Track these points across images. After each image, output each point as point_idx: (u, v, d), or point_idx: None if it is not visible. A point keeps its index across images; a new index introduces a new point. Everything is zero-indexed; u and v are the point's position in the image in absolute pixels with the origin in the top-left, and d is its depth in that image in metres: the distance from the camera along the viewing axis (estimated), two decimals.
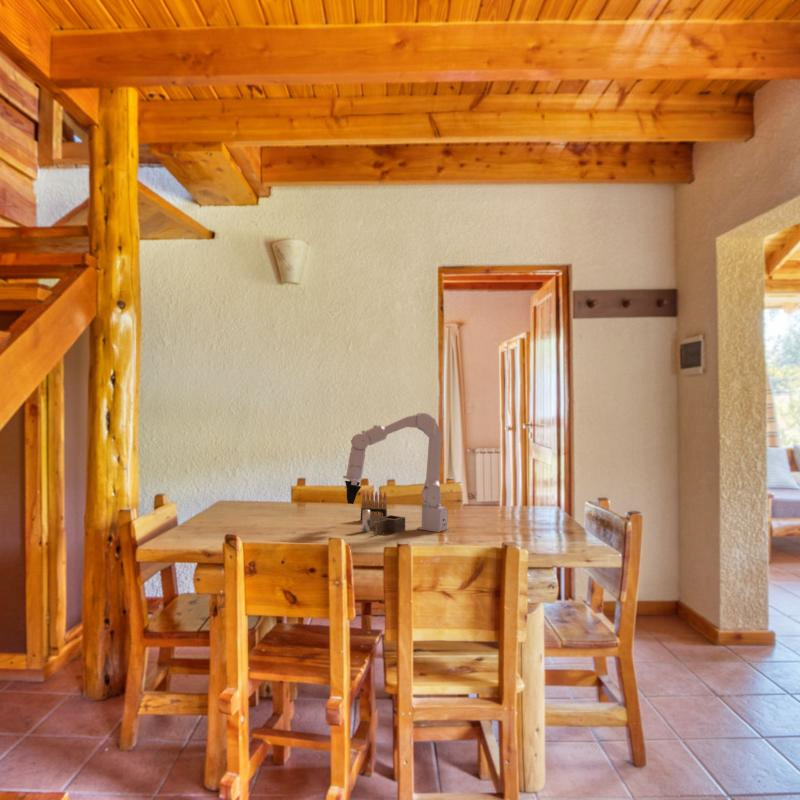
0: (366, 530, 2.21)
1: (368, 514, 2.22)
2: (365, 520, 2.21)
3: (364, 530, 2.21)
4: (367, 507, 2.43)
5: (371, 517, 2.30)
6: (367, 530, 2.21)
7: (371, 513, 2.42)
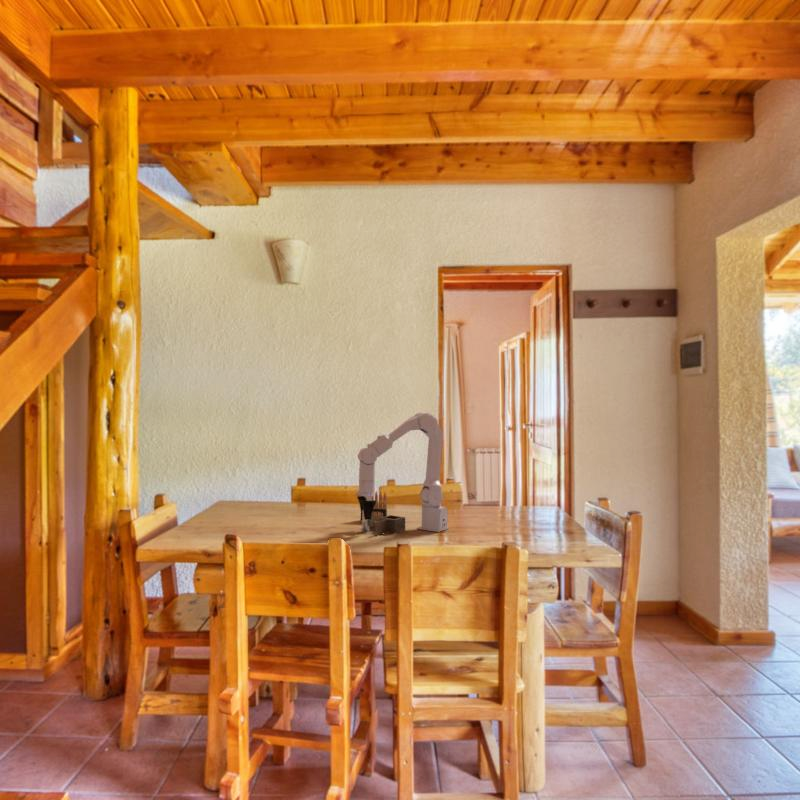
0: (366, 530, 2.21)
1: None
2: (365, 520, 2.21)
3: (364, 530, 2.21)
4: None
5: (371, 517, 2.30)
6: (367, 530, 2.21)
7: None
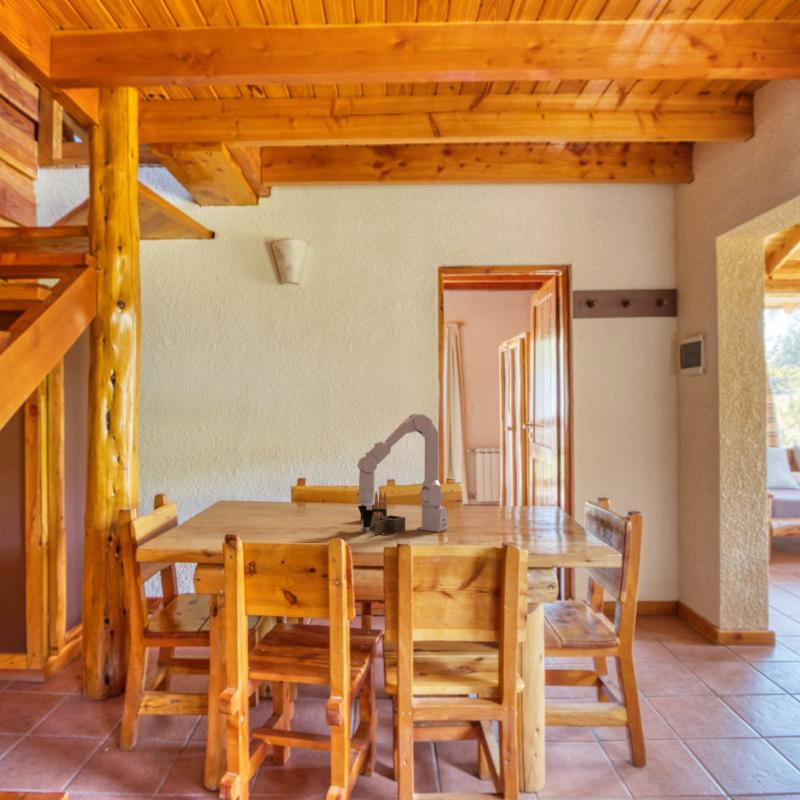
0: (366, 530, 2.21)
1: None
2: None
3: (364, 530, 2.21)
4: None
5: None
6: (367, 530, 2.21)
7: None
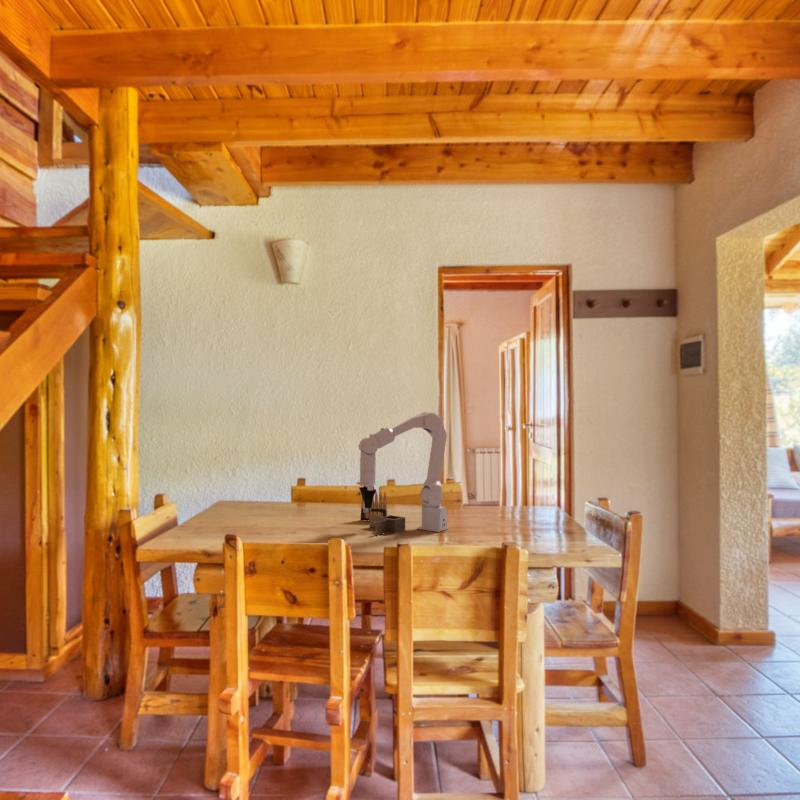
0: (367, 511, 2.21)
1: None
2: None
3: (365, 511, 2.22)
4: None
5: (371, 517, 2.30)
6: (368, 511, 2.22)
7: (371, 513, 2.42)
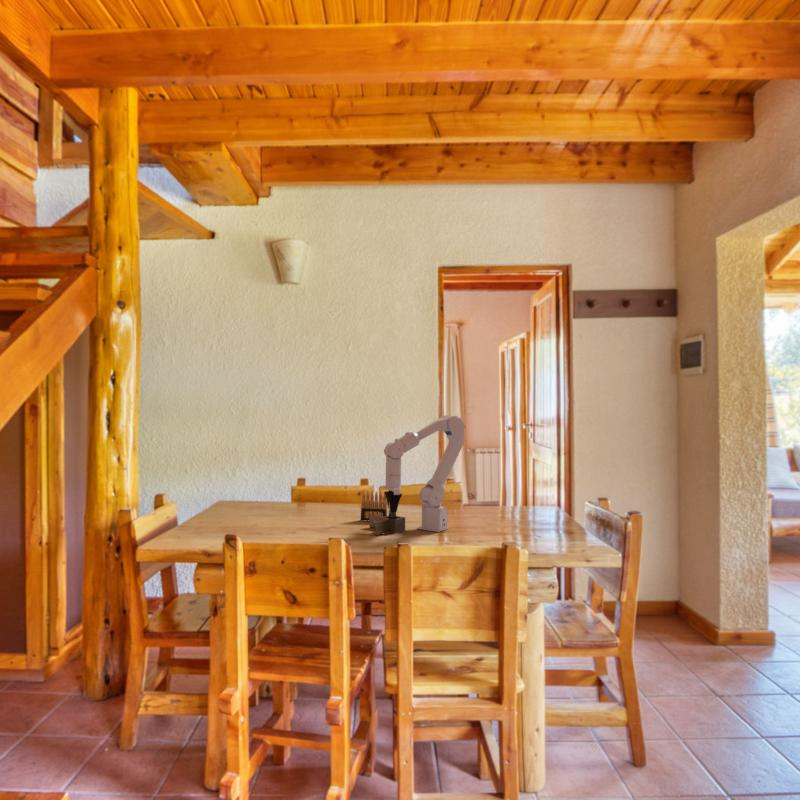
0: (393, 515, 2.23)
1: None
2: None
3: (391, 515, 2.23)
4: (367, 507, 2.43)
5: (371, 517, 2.30)
6: (394, 515, 2.23)
7: (371, 513, 2.42)
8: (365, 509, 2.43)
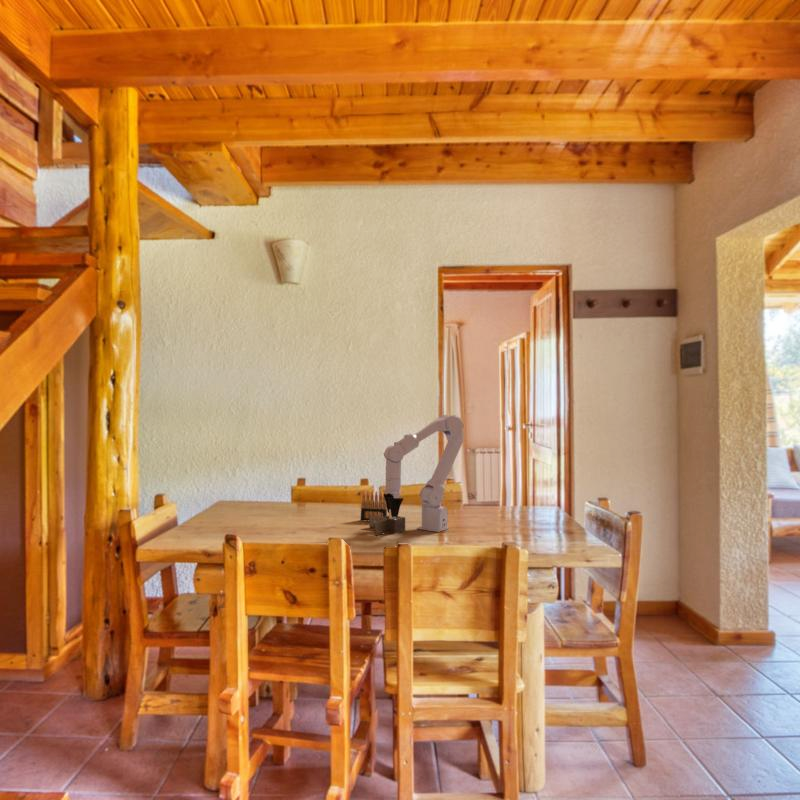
0: None
1: None
2: None
3: None
4: (367, 507, 2.43)
5: (371, 517, 2.30)
6: None
7: (371, 513, 2.42)
8: (365, 509, 2.43)
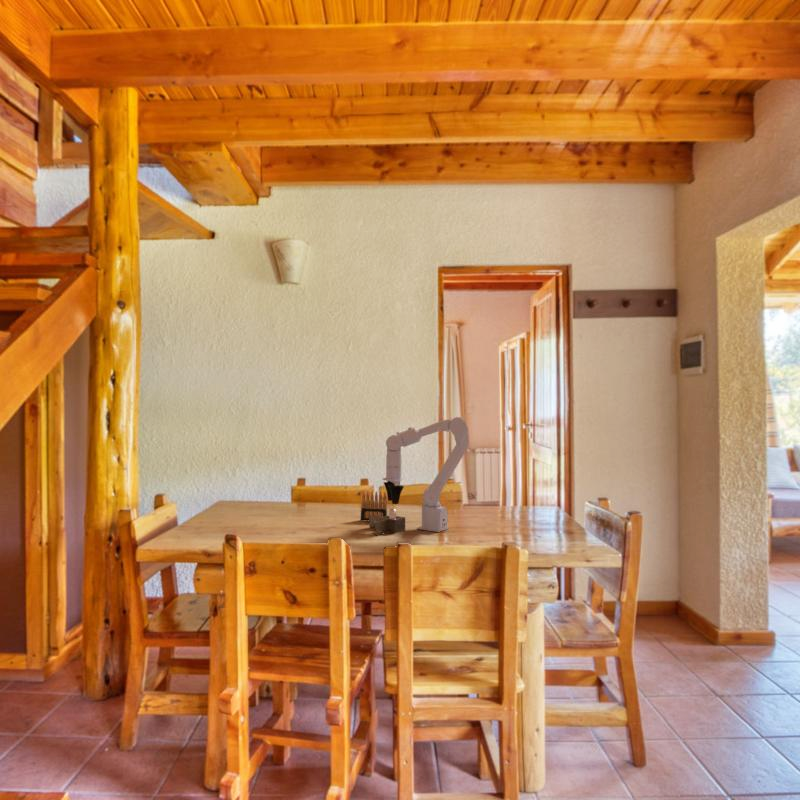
0: None
1: (394, 513, 2.24)
2: None
3: None
4: (367, 507, 2.43)
5: (371, 517, 2.30)
6: None
7: (371, 513, 2.42)
8: (365, 509, 2.43)
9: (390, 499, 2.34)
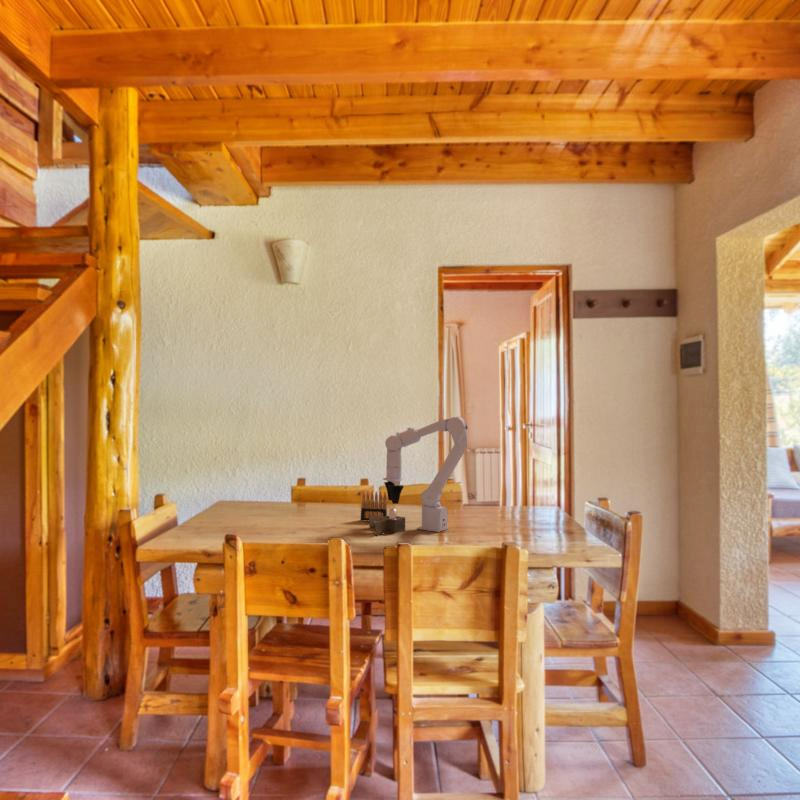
0: None
1: (395, 513, 2.24)
2: None
3: None
4: (367, 507, 2.43)
5: (371, 517, 2.30)
6: None
7: (371, 513, 2.42)
8: (365, 509, 2.43)
9: (390, 499, 2.36)
